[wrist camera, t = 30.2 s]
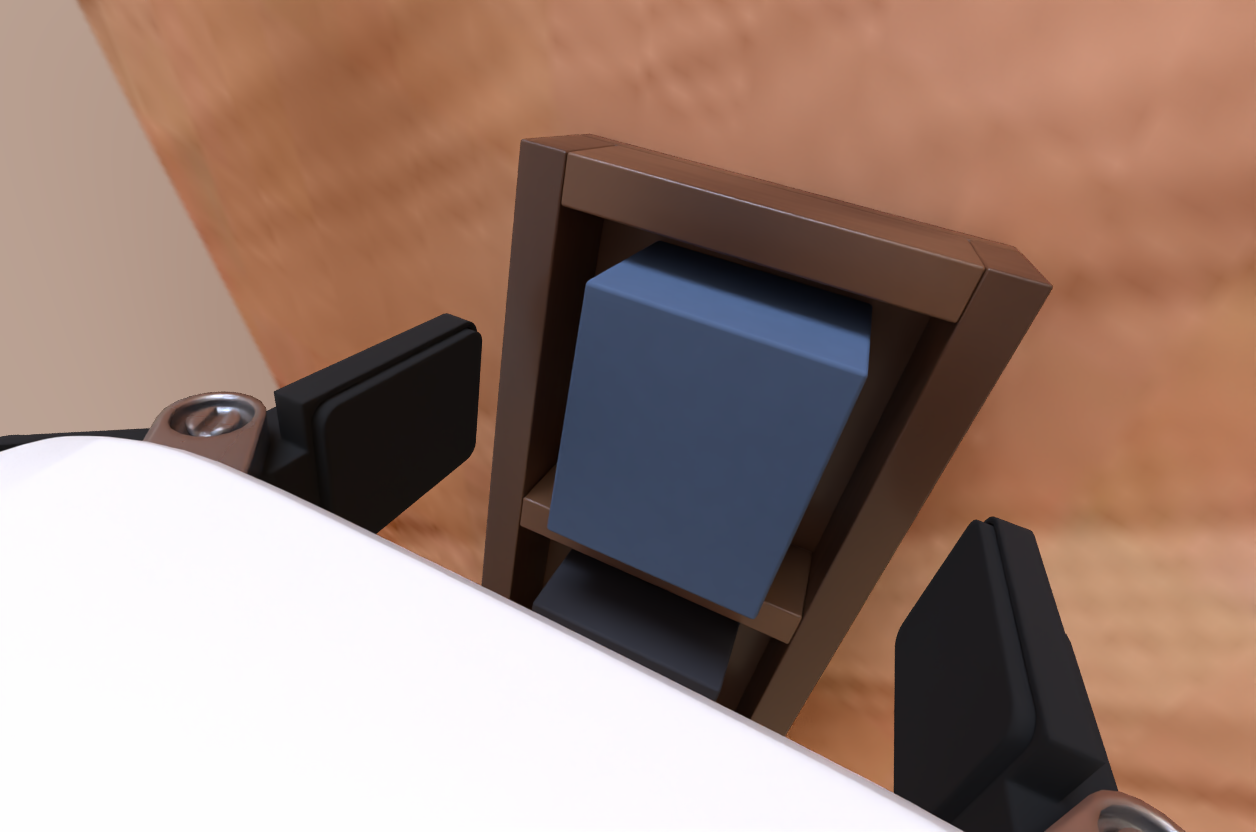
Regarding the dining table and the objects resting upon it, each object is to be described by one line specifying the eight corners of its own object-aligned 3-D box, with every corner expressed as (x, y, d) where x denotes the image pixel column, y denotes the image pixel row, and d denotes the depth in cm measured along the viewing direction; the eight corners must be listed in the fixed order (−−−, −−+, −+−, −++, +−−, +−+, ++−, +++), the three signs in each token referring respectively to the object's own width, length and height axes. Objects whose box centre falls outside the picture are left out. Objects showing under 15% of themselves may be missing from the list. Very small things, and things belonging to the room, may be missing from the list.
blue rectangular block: (874, 303, 12) (870, 373, 9) (782, 514, 16) (754, 622, 12) (657, 238, 14) (584, 279, 10) (612, 446, 17) (544, 530, 13)
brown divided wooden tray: (1017, 247, 12) (1054, 286, 9) (748, 742, 21) (729, 830, 18) (588, 132, 14) (519, 138, 11) (517, 628, 23) (471, 693, 21)
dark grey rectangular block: (752, 578, 17) (721, 692, 14) (700, 699, 20) (663, 816, 17) (596, 512, 18) (531, 602, 15) (569, 636, 21) (511, 734, 18)
